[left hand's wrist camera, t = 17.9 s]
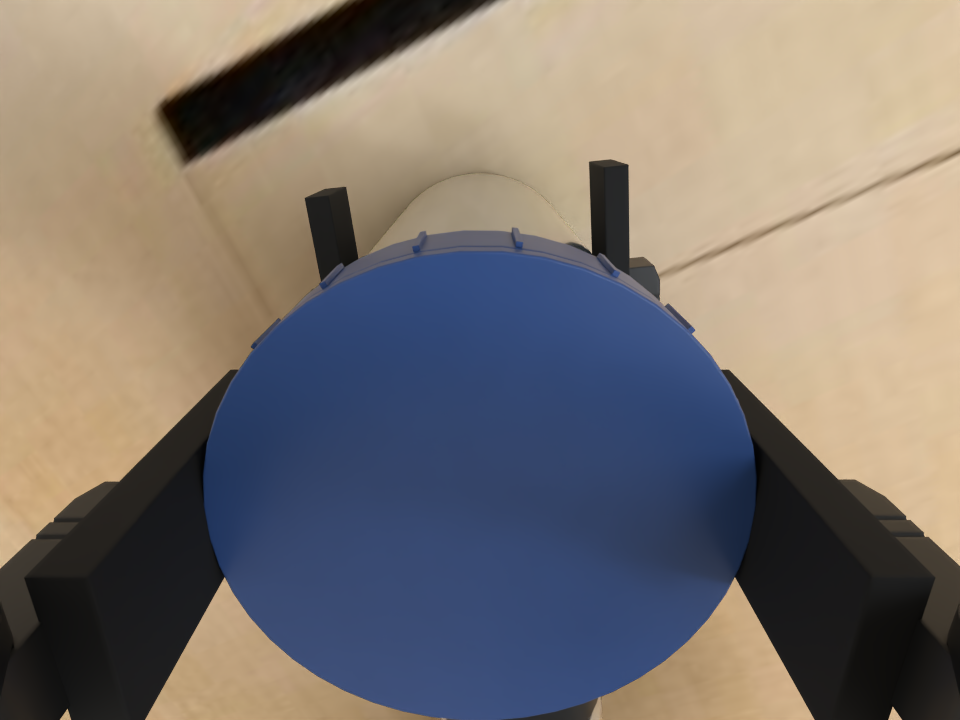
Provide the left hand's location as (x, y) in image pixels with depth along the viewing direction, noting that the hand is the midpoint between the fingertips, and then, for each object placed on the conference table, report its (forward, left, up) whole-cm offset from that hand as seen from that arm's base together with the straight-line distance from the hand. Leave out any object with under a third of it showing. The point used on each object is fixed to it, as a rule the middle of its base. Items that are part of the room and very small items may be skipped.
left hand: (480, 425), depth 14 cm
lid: (0, 0, +3) cm, 3 cm away
